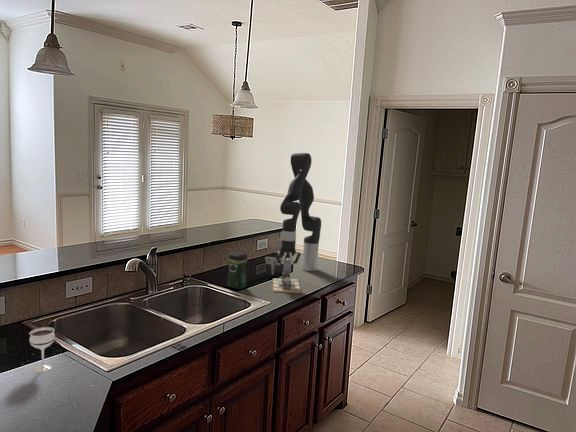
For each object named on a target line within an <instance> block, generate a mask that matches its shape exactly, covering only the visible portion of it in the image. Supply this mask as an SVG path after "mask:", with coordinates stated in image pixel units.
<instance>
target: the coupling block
mask: <svg viewBox="0 0 576 432" xmlns="http://www.w3.org/2000/svg"><path fill="white" fill-rule="evenodd" d="M283 264H284V265H283V271H282V272H283V273H290V274H291V273H292V271H291V259H290V258H285V260H284V262H283Z"/></svg>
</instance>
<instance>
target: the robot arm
mask: <svg viewBox="0 0 576 432" xmlns="http://www.w3.org/2000/svg"><path fill="white" fill-rule="evenodd" d="M312 160H313V159H312V156H311V154H310V153H308V152H299V153H298V152H297V153H296V152H295V153H292V154H291V155H290V167H291V171H292V173H293V176H294V178H293V179H292V180H291V182H290V184H289V186H288V189H287V194H286V195H285V197H284V198H283V200H282V202H281V204H280V206H279V207H280V208H279V210H280V212H281V214H283V215H287V216H288V215H289V216H292V217H291V218H285V219H283V221H282V232H281V241H280V245H281V246H280V249H279V250H278V251H277V250H275V251H274V255H275V258H276V260H277V261H278V262H277V263H278V264H279V263H281V264H280V270H281V271H282V272H283V265H284V264H283V262H284V260H286V259H289V260H291V272H292V271H293V270H294V264H298V261H299V259H300V256H301V252H300V251H297V250H296V243H297V222H298V219H299V215H300V216H301V226H302V229H303V230H304V231H306V232H311V235H308V236H305V237H304V239H303V250H302V264H301V266H302V267H301V270H303V271H306V272H317V270H318V260H319V259H318V257H319V244H320V238H321V231H322V230H321V229H322V219H321V218H320V217H319V216H313V215H310V212H309V210H310V208H311V206H312V204H313V203H314V199H315V197H314V195H315V194H314V189H313V186H312V185H311V184H310V182H309V181H308V180H307V179H306V178H307V177H308V173H310V172H309V171H310V169H311V167H312ZM280 254H281V256H282V257H281V259H282V260H280ZM294 256H296V257H295V259H294Z"/></svg>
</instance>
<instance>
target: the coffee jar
mask: <svg viewBox="0 0 576 432" xmlns="http://www.w3.org/2000/svg"><path fill="white" fill-rule="evenodd" d="M227 261H228V273H227V275H228V276H227V281H226V284H227V285H226V286H227V287H230V288H232V289H237V290H239V289H240V290H241V289H244V288H246V287H247V262H248V254H247V253H245V252H241V251H237V250H233V251H230V252H229V254H228V260H227Z"/></svg>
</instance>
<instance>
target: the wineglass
mask: <svg viewBox="0 0 576 432" xmlns="http://www.w3.org/2000/svg"><path fill="white" fill-rule="evenodd" d="M28 333H29V334H28V335H30V336H29V340H28V341H29V344H30V346H32V347H33V348H35V349H38V350H40V351H41V353H40V354H41V365H38V366H35V367H34V368H33V371H34V372H35V373H46V372H48V371H50V370H51V369H53V365H52V364H50V363H49V364H48V363H47V364H44V363H45V349H46V348H48V347H49V346H51V345H52V344H53V343H54V342H55V339H56V335H55V328H54V327H50V326H44V327H37V328H35V329H32V330H31V331H30V332H28Z"/></svg>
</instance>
